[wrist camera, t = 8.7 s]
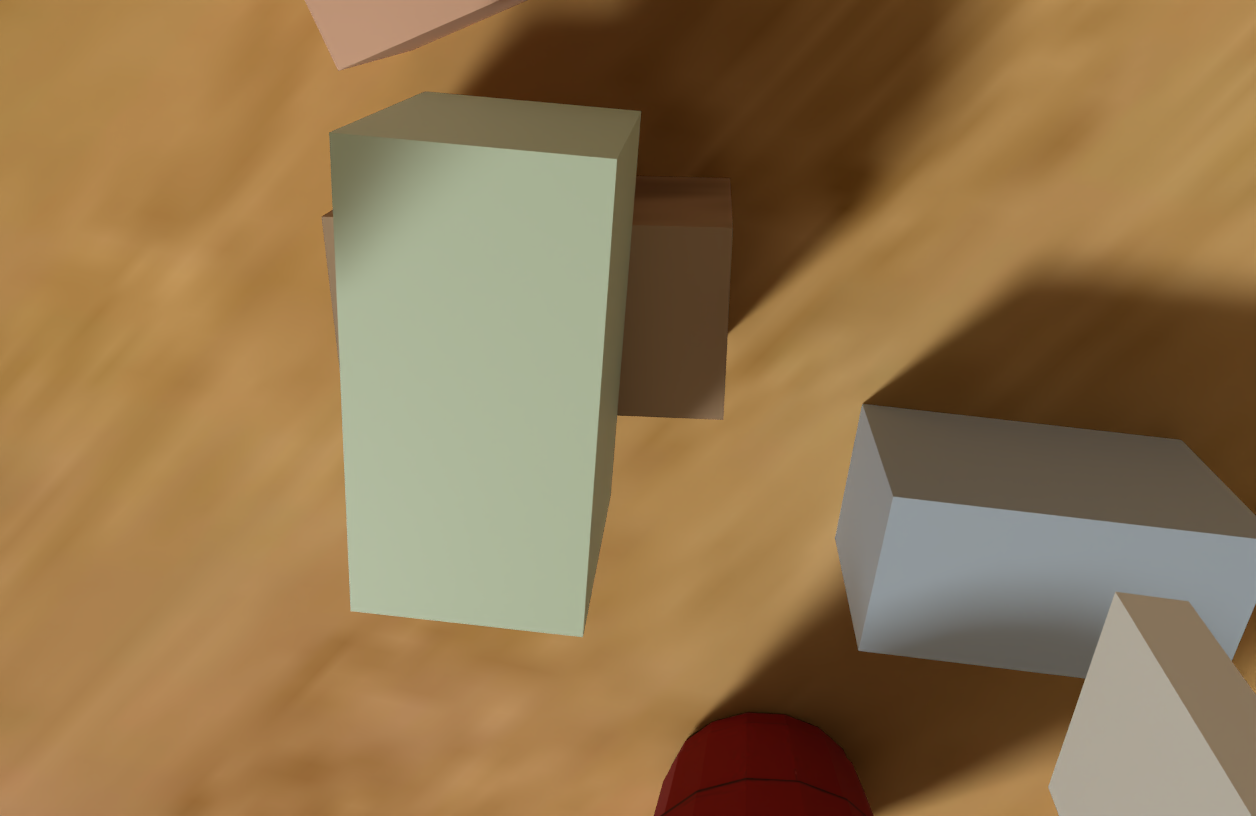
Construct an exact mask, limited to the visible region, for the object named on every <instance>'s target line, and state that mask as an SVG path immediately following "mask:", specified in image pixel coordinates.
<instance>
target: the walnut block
mask: <svg viewBox="0 0 1256 816" xmlns="http://www.w3.org/2000/svg"><path fill="white" fill-rule="evenodd" d="M322 224H323V232H324V241H325V249H326V258H327V266H328V275H329V283H330V291H331V300H332V308H333V317H334V325H335V334H336V342H337V350H338V359H339V337H338V315H337V292H336V270H335V248H334V225H333V210H331V211H330V212H328V213H327V214H325V215H324V216H322ZM732 237H733V219H732V201H731V183H730V178H711V177H668V176H636V185H635V197H634V210H633V222H632V235H631V247H630V260H629V272H628V285H627V297H626V310H625V322H624V335H623V347H622V360H621V373H620V385H619V398H618V410H617V415H620V416H645V417H669V418H693V419H718V420H723V414H724V395H725V375H726V355H727V336H728V316H729V296H730V277H731V257H732ZM339 367H340V359H339Z"/></svg>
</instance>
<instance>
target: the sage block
mask: <svg viewBox="0 0 1256 816" xmlns="http://www.w3.org/2000/svg"><path fill="white" fill-rule="evenodd" d="M640 122H641V111H635V110H623V109H612V108H601V107H590V106H579V105H568V104H557V103H546V102H535V101H524V100H513V99H502V98H491V97H480V96H469V95H458V94H447V93H436V92H423V93H420V94H418V95H416V96H413V97H411V98H409V99H406V100H404V101H402V102H399V103H397V104H395V105H392V106H390V107H388V108H385V109H383V110H381V111H378V112H376V113H374V114H371V115H369V116H367V117H364V118H362V119H360V120H357V121H355V122H353V123H350V124H348V125H346V126H343V127H341V128H339V129H336V130H334V131H332V132H329V136H330V158H331V181H332V203H333V225H334V248H335V270H336V292H337V315H338V337H339V359H340V382H341V404H342V426H343V449H344V471H345V494H346V516H347V538H348V561H349V583H350V605H351V611H355V612H364V613H373V614H382V615H391V616H400V617H408V618H417V619H426V620H435V621H444V622H453V623H462V624H471V625H480V626H489V627H497V628H506V629H515V630H524V631H533V632H542V633H551V634H560V635H569V636H578V637H583V634H584V629H585V624H586V619H587V614H588V608H589V603H590V598H591V593H592V588H593V583H594V578H595V573H596V568H597V562H598V557H599V552H600V547H601V542H602V537H603V532H604V527H605V522H606V516H607V511H608V506H609V501H610V496H611V485H612V473H613V460H614V448H615V435H616V423H617V410H618V398H619V385H620V373H621V360H622V347H623V335H624V322H625V310H626V297H627V285H628V272H629V260H630V247H631V235H632V222H633V210H634V197H635V185H636V172H637V160H638V147H639V134H640Z"/></svg>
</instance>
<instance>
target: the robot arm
mask: <svg viewBox="0 0 1256 816" xmlns="http://www.w3.org/2000/svg"><path fill="white" fill-rule="evenodd" d="M1048 788H1049V790H1050V793H1051V795H1052V798H1053V801H1054V803H1055V806H1056V809H1057V811H1058V814H1059V816H1256V694H1255V693H1254V692H1253V690H1252V689H1251V687H1250V686H1249V685H1248V683H1247V682H1246V681H1245V679H1244V678H1243V676H1242V675H1241V674H1240V672H1239V671H1238V669H1237V668H1236V667H1235V665H1234V664H1233V662H1232V661H1231V660H1230V658H1229V657H1228V655H1227V654H1226V653H1225V651H1224V650H1223V648H1222V647H1221V646H1220V644H1219V643H1218V641H1217V640H1216V639H1215V637H1214V636H1213V634H1212V633H1211V632H1210V630H1209V629H1208V627H1207V626H1206V625H1205V623H1204V622H1203V620H1202V619H1201V618H1200V616H1199V615H1198V613H1197V612H1196V611H1195V609H1194V608H1193V606H1192V605H1191V604H1190V602H1189V601H1183V600H1175V599H1167V598H1160V597H1152V596H1145V595H1137V594H1129V593H1122V592H1115V594H1114V597H1113V600H1112V603H1111V606H1110V609H1109V611H1108V614H1107V617H1106V620H1105V623H1104V626H1103V629H1102V632H1101V635H1100V638H1099V641H1098V644H1097V646H1096V649H1095V652H1094V655H1093V658H1092V661H1091V664H1090V667H1089V670H1088V673H1087V676H1086V679H1085V682H1084V684H1083V687H1082V690H1081V693H1080V696H1079V699H1078V702H1077V705H1076V708H1075V711H1074V714H1073V717H1072V719H1071V722H1070V725H1069V728H1068V731H1067V734H1066V737H1065V740H1064V743H1063V746H1062V749H1061V752H1060V754H1059V757H1058V760H1057V763H1056V766H1055V769H1054V772H1053V775H1052V778H1051V781H1050V784H1049V787H1048Z"/></svg>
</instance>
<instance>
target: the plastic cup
mask: <svg viewBox="0 0 1256 816" xmlns="http://www.w3.org/2000/svg"><path fill="white" fill-rule="evenodd" d="M654 816H873V813H872V810H871V808H870V805H869V803H868V800H867V797H866V795H865V792H864V790H863V787H862V785H861V783H860V780H859V778H858V776H857V773H856V771H855V769H854V766H853V764H852V762H851V761H849V760H848V759H847V757H846V755H845V753H844V750H843V749H842V748H841V747H840V746H839V745H838V744H837V743H836V742H834V741H833V740H832V739H831V738H830V737H829V736H828V735H826V734H825V733H824V732H823V731H822V730H821V729H820V728H819V727H816V726H814V725H811V724H808V723H806V722H803V721H800V720H798V719H795V718H793V717H790V716H787V715H785V714H766V713H743V714H740V715H736V716H732V717H729V718H725V719H721V720H718V721H714V722H711V723H710V724H709V725H707V726H706V727H704V728H703V729H702V730H700V731H699V732H697V733H696V734H695V735H693V736H692V737H690V738H689V739H688V740H686V741H685V743H684V744H683V746H682V748H681V750H680V752H679V753H678V755H677V757H676V759H675V760H674V762H673V764H672V766H671V769H670V770H669V772H668V774H667V776H666V777H665V779H664V781H663V785H662V788H661V792H660V795H659V799H658V803H657V806H656V810H655V814H654Z"/></svg>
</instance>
